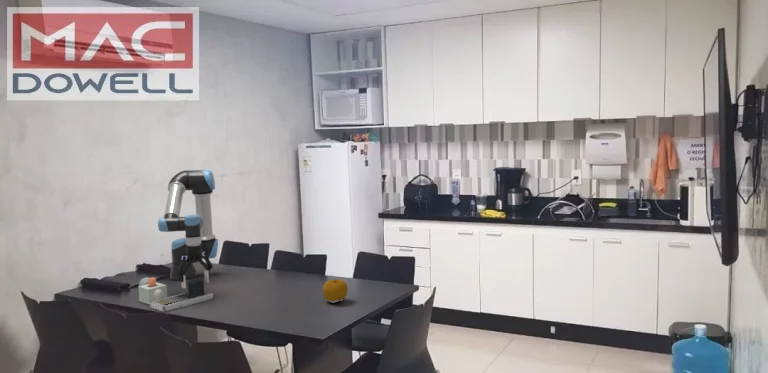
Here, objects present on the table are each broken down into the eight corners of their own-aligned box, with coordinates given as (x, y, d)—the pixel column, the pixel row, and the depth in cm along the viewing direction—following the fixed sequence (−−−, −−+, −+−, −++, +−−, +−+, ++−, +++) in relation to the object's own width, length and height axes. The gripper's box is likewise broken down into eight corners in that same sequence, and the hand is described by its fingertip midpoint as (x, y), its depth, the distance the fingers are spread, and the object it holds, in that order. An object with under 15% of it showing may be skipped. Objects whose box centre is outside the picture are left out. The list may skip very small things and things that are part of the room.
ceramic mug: (143, 295, 311) (143, 281, 310) (138, 292, 317) (138, 278, 316) (163, 291, 318) (163, 278, 317) (158, 288, 324) (157, 275, 323)
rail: (199, 294, 311) (199, 289, 311) (213, 298, 303) (212, 293, 303) (150, 307, 289) (150, 301, 289) (163, 312, 281) (163, 306, 281)
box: (203, 296, 307) (202, 277, 305) (204, 299, 301) (203, 280, 300) (187, 299, 303) (186, 279, 302) (189, 302, 298) (188, 281, 297)
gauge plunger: (154, 290, 303) (153, 276, 302) (157, 291, 301) (157, 278, 300) (147, 291, 300) (146, 278, 299) (151, 292, 298) (150, 279, 297)
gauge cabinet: (157, 296, 308) (156, 282, 307) (167, 300, 301) (166, 285, 300) (139, 301, 300) (138, 286, 299) (149, 305, 294) (148, 289, 293)
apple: (351, 299, 298) (351, 277, 297) (341, 307, 286) (341, 284, 285) (329, 297, 302) (328, 276, 301) (318, 304, 290) (317, 282, 289)
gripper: (210, 240, 311) (211, 279, 313) (167, 247, 292) (169, 289, 294) (218, 241, 306) (220, 281, 308) (175, 249, 287) (177, 291, 289)
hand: (195, 285), depth 301 cm, fingers open, 13 cm apart
